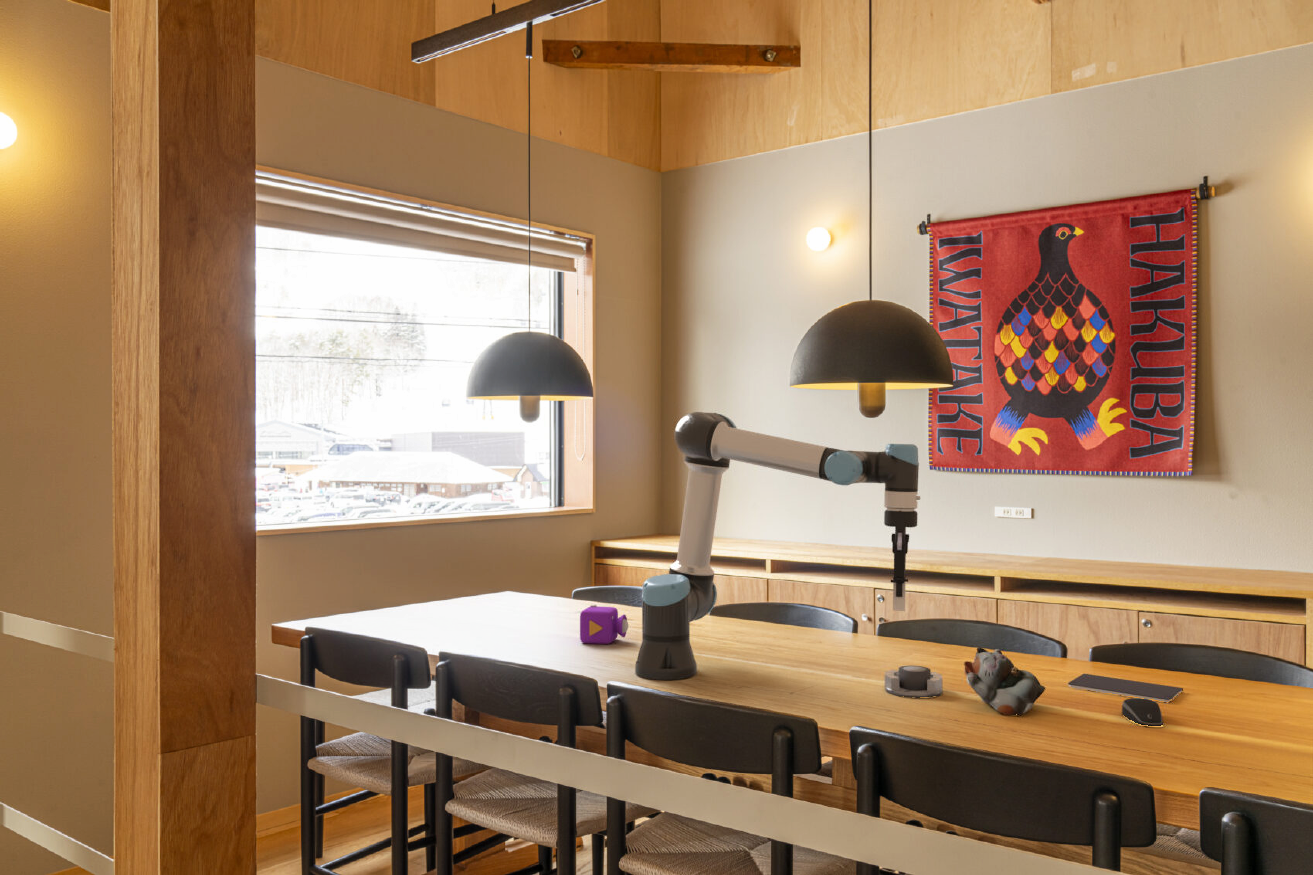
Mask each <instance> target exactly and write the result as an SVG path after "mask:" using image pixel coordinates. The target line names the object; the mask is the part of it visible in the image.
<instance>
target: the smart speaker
mask: <svg viewBox="0 0 1313 875" xmlns="http://www.w3.org/2000/svg"><path fill="white" fill-rule="evenodd" d="M898 671H899V687H900V688H903V689H907V690H914V691H923V690H927V679H930V678H931V669H930V668H928V667H926V666H921V665H902V666H900V667H898Z"/></svg>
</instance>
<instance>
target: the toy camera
mask: <svg viewBox="0 0 1313 875" xmlns="http://www.w3.org/2000/svg"><path fill="white" fill-rule="evenodd" d="M628 629H629V622H628V618H627V615H626V614H622V615H621V616H619V611H618V608H616V607H614V606H613V607H612V606H597V604H590V606H589V607H587V608H585V609H583V610H581V612H580V616H579V639H580V642H581V643H583V644H595V645H597V644H598V645H609V644H611V643H613V642H614V641H615V640H616V639H617V638H618V635H619V636H621V637H622V638H625V637H626V635H627V632H628Z"/></svg>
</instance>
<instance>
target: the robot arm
mask: <svg viewBox="0 0 1313 875" xmlns="http://www.w3.org/2000/svg"><path fill="white" fill-rule="evenodd" d="M673 437H674V443H675V445H676V447H677V449H678V450H679V451H680V452H681V454H683V455H684V461H683V462H684V464H685V465H686V467H687V468H688V476H687V483H686V490H685V496H684V505H683V512H682V520H681V526H680V527H681V528H680V536H679V542H678V548H677V556H676V560H675V561H674V562H673V563H672V564H670V565H669V570H668V573H667V574H666V573H665V574H661V575H654V576H651V577H649V578H647V579H645V580H644V582H643V583H642V592H641V608H642V609H641V610H642V611H641V612H642V613H641V614H642V618H641V620H642V621H641V622H642V624H641V625H642V627H641V628H642V630H641V632H642V636H641V637H642V641H641V645H640V648H639V651H638V655H637V658H636V661H635V665H634V667H635V670H634V671H635V672H634V674H636V676H639V677H641V678H645V679H650V680H659V681H660V680H661V681H662V680H664V681H665V680H666V681H669V680H670V681H672V680H681V679H689V678H692V677H694V676H696V675H697V673H698V669H697V666H698V664H697V662H696V659H695V656H694V652H693V648H692V644H691V642H690V640H691V638H690V630H691V629H690V623H691V622H693V621H697V620H700V619H702V618H703V617H705V616H707V615H708V614H709V613H710V612H711V611H712V610H713V609H714V607H715V605H716V602H717V597H718V593H717V592H718V590H717V587H716V584H715V582H714V578H715V571H714V570H713V568H712V567H711V566H710V564H711V556H712V551H713V550H712V548H713V544H714V543H713V541H714V535H715V529H716V527H715V526H716V520H717V513H718V506H719V500H720V494H721V493H720V491H721V484H722V476H723V474H724V473H725V472H726V471H727V470H729V469H730V463H731V461H736V462H741V463H746V464H751V465H755V466H760V467H764V468H769V469H771V470H778V471H782V472H786V473H791V474H792V473H793V474H797V475H800V476H805V477H810V478H815V479H819V480H824V481H828V482H832V483H833V484H836V485H839V486H849V485H853V484H862V483H863V484H884V504H883V507H885V510H884V513H883V514H884V516H883V517H884V519H883V520H884V521H883V524H884V526H886V527H890V528H891V527H892V528H893V527H895V528H894V529H895V530H894V531H895V532H894V533H891V543H892V545H891V546H892V549H891V550H892V553H893V577H892V579H890V583H891V584H892V585H893V586H892V587H893V588H892V592H893V593H892V611H897V612H905V611H906V583H908V582H909V578H906V577H907V575H906V565H907V564H906V563H907V562H906V560H907V554H908V552H909V542H910V534H909V533H907V528H915V527H917V526H918V512H917V510H916V509H918V501H919V500H921V495H918V491H919V470H920V469H919V468H920V467H919V466H920V463H919V448H918V447H917V445H915V444H913V443H888V444H886V445H885V449H884V451H866V450H864V451H861V450H843V449H838V448H833V447H828V446H823V445H818V444H815V443H814V444H813V443H808V442H804V441H798V440H794V439H789V438H784V437H779V436H774V435H770V434H765V433H759V432H755V431H750V430H745V429H740V428H737V426H736V424H735V423H734V421H733V420H732V419H730V418H729V417H727V416H726V415H723V414H720V413H716V412H703V411H694V412H693V411H692V412H689V413H687V414H685V415H684V416H682V417H681V418H680V420H678V422H677V424H676V426H675V429H674V436H673Z"/></svg>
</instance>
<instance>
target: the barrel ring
mask: <svg viewBox="0 0 1313 875" xmlns="http://www.w3.org/2000/svg"><path fill="white" fill-rule="evenodd" d="M885 690H886V691H885ZM884 691H885V692H886V693H887V694H890V695H893V696H898V697H901V696H904V697H903V698H907V697H911V698H910V699H913V698H912V697H915V698H914V699H921V698H920V697H933V696H938V697H940V696H942V695H943V675H942V674H940V673H938V672H935V671H932V672H931V678H930V679H927V690H923V691H914V690H907V689H903V688H900V687H899V669H898V670H896V669H889V670H886V671H884ZM941 694H942V695H941ZM933 698H934V697H933Z"/></svg>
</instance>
